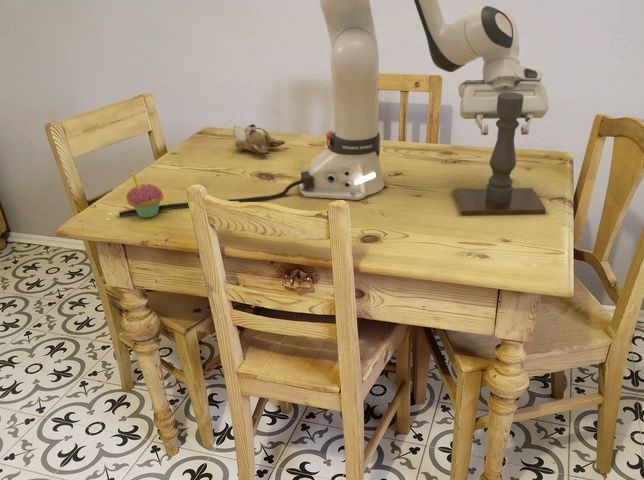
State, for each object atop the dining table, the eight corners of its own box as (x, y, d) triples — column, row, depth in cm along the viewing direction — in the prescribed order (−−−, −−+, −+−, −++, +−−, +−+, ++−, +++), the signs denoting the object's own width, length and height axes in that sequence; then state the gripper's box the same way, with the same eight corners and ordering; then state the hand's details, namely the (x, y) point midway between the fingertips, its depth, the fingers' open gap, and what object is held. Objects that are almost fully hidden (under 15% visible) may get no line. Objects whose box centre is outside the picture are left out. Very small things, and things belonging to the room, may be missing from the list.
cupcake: (147, 223, 145) (136, 176, 138) (123, 216, 149) (111, 169, 142) (173, 210, 151) (163, 164, 144) (149, 203, 155) (139, 158, 148)
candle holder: (511, 204, 146) (525, 100, 132) (485, 203, 147) (496, 99, 134) (511, 194, 151) (524, 92, 138) (485, 192, 152) (496, 91, 139)
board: (461, 215, 145) (461, 210, 144) (454, 193, 156) (454, 189, 155) (544, 213, 144) (545, 209, 144) (531, 192, 155) (532, 187, 155)
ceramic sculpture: (243, 115, 187) (285, 123, 182) (245, 142, 192) (286, 151, 187) (223, 125, 179) (266, 134, 174) (226, 153, 184) (268, 163, 179)
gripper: (460, 73, 141) (462, 127, 138) (548, 72, 140) (552, 126, 137) (456, 87, 147) (458, 140, 144) (540, 86, 146) (544, 139, 144)
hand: (504, 133), depth 141 cm, fingers open, 8 cm apart
